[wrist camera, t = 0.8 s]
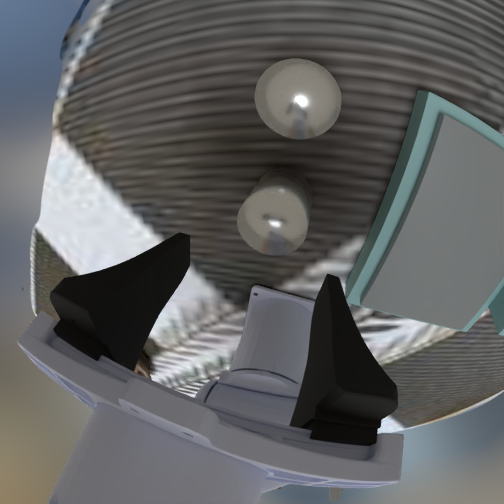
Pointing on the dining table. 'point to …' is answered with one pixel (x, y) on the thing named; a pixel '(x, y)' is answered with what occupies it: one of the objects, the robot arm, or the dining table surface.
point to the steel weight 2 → (276, 212)
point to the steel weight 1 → (298, 98)
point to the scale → (400, 191)
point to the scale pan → (446, 234)
